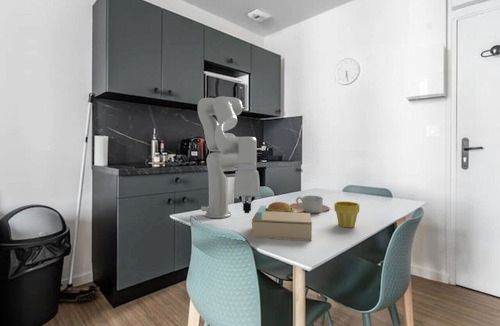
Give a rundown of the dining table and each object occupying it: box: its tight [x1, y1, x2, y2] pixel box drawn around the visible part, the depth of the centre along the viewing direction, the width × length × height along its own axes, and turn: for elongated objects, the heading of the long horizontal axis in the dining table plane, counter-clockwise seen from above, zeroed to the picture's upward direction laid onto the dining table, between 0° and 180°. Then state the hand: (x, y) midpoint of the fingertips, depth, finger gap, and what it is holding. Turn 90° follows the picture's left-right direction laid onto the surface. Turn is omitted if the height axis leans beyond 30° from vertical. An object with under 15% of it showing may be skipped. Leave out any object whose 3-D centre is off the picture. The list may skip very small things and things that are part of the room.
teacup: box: [295, 195, 324, 214], centre depth 144 cm, size 14×11×8 cm
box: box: [251, 220, 313, 242], centre depth 107 cm, size 22×14×6 cm, turn 80°
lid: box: [251, 205, 313, 224], centre depth 107 cm, size 22×14×3 cm, turn 80°
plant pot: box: [333, 201, 360, 229], centre depth 118 cm, size 10×10×10 cm
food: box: [266, 201, 295, 212], centre depth 129 cm, size 14×14×8 cm
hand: (247, 212), depth 110 cm, fingers closed
